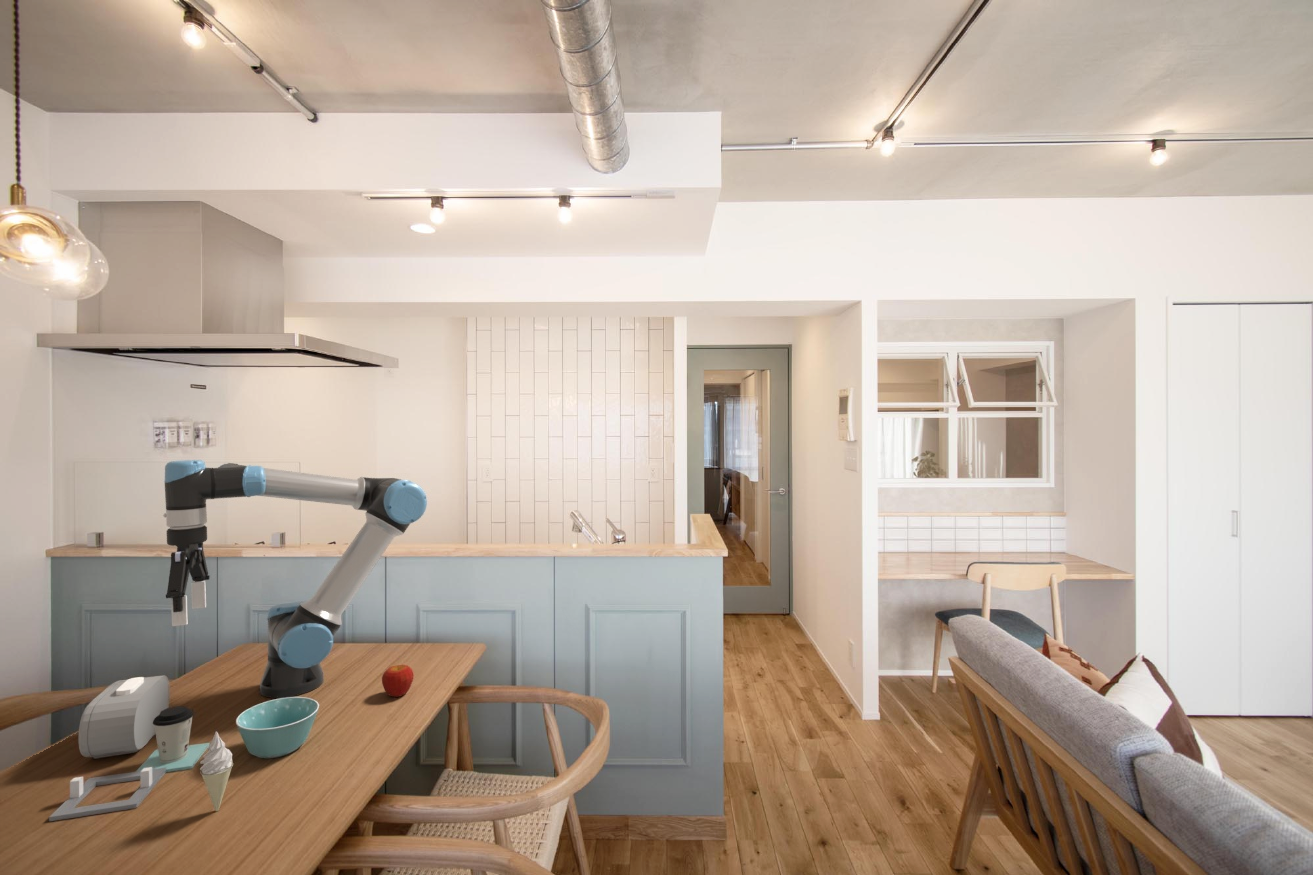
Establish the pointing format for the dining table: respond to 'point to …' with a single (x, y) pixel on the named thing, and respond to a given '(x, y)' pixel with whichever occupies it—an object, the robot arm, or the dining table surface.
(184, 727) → the coffee cup
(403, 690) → the apple
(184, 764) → the coaster
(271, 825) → the dining table surface
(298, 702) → the bowl
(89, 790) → the collar
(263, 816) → the dining table surface
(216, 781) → the ice cream cone
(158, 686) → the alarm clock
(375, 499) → the robot arm
